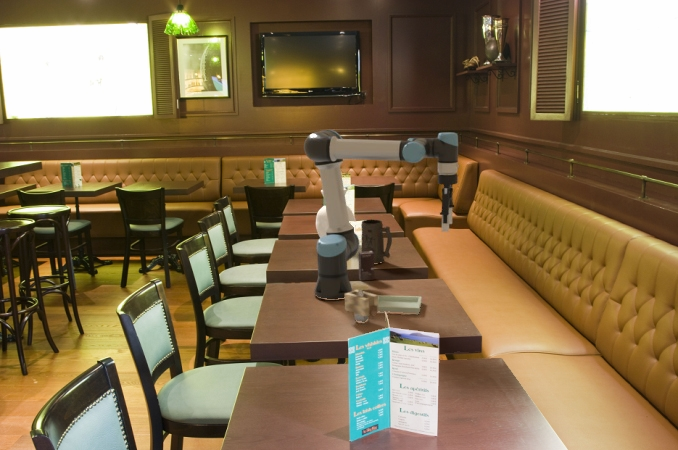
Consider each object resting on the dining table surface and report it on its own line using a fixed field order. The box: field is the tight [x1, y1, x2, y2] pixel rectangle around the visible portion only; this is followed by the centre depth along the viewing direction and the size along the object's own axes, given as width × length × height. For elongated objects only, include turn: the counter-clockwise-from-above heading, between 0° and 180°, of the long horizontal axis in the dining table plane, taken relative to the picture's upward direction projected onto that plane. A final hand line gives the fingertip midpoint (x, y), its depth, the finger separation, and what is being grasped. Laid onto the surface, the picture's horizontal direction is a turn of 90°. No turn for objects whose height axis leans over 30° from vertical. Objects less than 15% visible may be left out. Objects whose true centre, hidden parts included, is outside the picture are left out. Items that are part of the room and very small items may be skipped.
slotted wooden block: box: [344, 290, 379, 317], centre depth 224 cm, size 12×6×6 cm, turn 44°
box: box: [357, 251, 375, 282], centre depth 273 cm, size 6×4×12 cm
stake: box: [351, 284, 370, 322], centre depth 224 cm, size 6×4×13 cm
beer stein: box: [360, 219, 393, 263], centre depth 298 cm, size 15×11×20 cm
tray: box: [377, 294, 423, 315], centre depth 238 cm, size 17×13×3 cm
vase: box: [315, 187, 357, 239], centre depth 332 cm, size 19×21×30 cm
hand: (447, 227), depth 249 cm, fingers open, 13 cm apart
